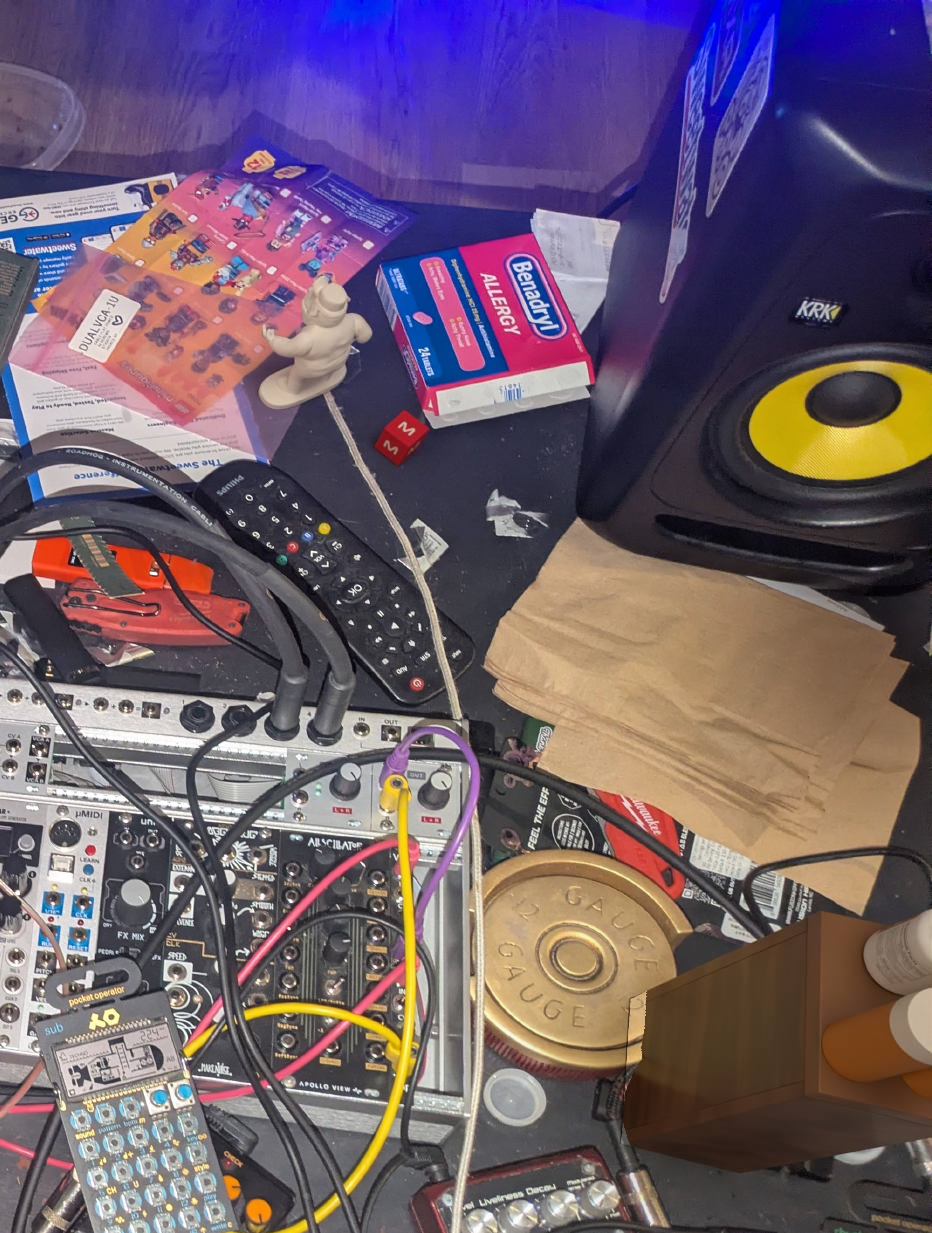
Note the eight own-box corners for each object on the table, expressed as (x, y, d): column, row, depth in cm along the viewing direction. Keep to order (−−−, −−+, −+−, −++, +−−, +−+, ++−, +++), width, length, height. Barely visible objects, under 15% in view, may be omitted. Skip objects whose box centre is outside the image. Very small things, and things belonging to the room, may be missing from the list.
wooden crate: (745, 1024, 109) (954, 949, 87) (740, 1173, 105) (958, 1133, 83) (629, 998, 110) (807, 916, 88) (619, 1143, 106) (803, 1096, 84)
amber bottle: (891, 1026, 84) (986, 997, 77) (891, 1092, 83) (988, 1069, 75) (820, 1009, 85) (907, 979, 77) (818, 1075, 83) (908, 1050, 76)
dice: (418, 448, 130) (429, 428, 127) (398, 466, 129) (409, 447, 126) (394, 429, 131) (404, 409, 128) (373, 447, 130) (383, 428, 127)
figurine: (321, 338, 135) (358, 249, 124) (357, 387, 133) (398, 300, 121) (241, 373, 134) (271, 286, 122) (277, 422, 131) (311, 338, 120)
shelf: (954, 949, 87) (971, 943, 86) (958, 1133, 83) (976, 1129, 82) (807, 916, 88) (821, 909, 87) (803, 1096, 84) (818, 1092, 83)
